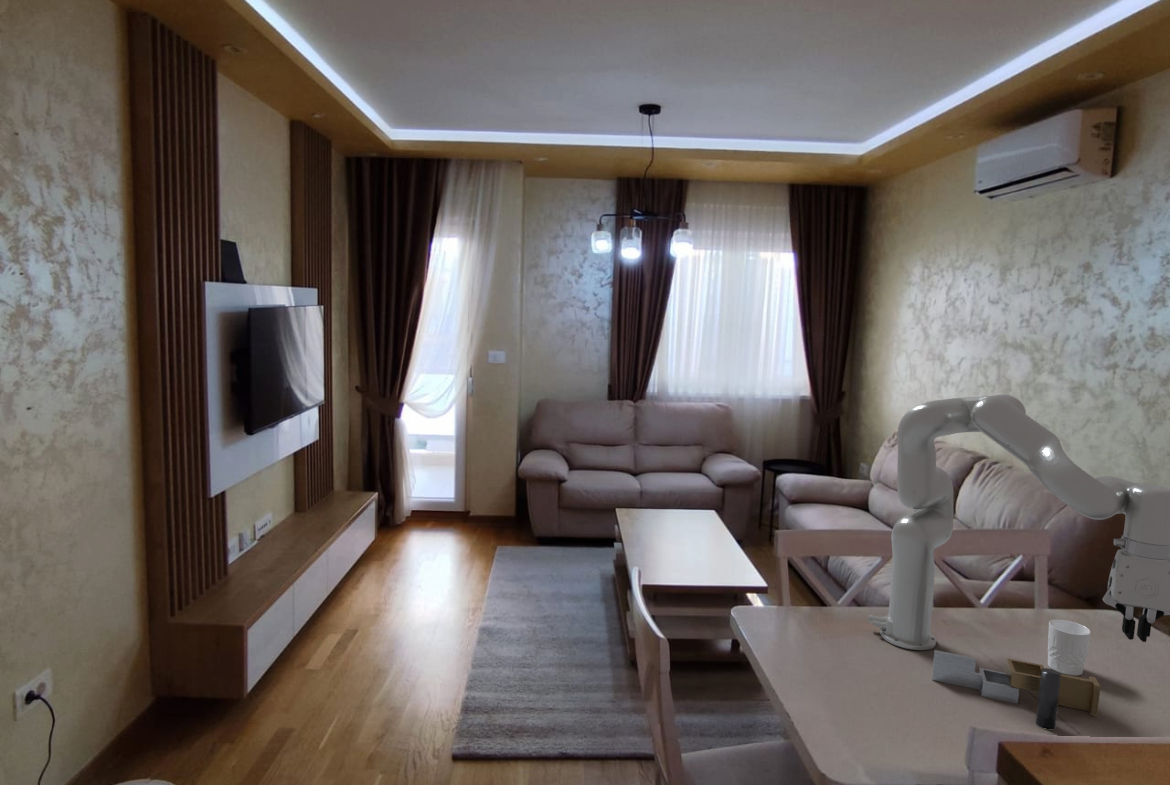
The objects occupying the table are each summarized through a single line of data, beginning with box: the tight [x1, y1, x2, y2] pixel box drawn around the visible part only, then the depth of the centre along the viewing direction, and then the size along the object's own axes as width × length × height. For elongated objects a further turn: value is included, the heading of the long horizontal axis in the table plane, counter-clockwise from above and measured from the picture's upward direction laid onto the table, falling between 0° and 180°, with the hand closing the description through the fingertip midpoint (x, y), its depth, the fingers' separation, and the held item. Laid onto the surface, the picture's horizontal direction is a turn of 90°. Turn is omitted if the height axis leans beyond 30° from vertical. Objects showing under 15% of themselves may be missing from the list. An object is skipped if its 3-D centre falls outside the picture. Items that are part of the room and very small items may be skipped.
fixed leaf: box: [931, 649, 1020, 704], centre depth 152 cm, size 16×7×6 cm, turn 67°
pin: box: [1035, 667, 1062, 730], centre depth 139 cm, size 3×3×11 cm
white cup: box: [1047, 619, 1091, 677], centre depth 162 cm, size 8×8×10 cm
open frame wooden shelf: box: [1005, 657, 1101, 717], centre depth 147 cm, size 16×7×6 cm, turn 67°
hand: (1135, 637), depth 140 cm, fingers closed
